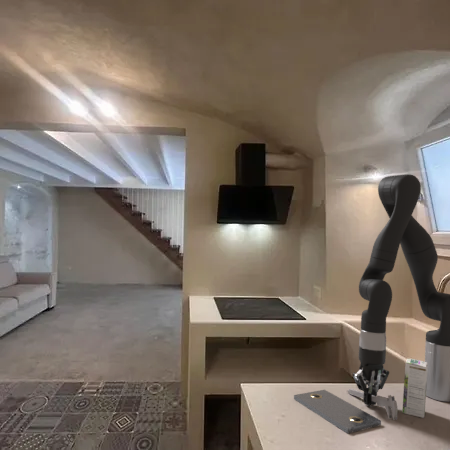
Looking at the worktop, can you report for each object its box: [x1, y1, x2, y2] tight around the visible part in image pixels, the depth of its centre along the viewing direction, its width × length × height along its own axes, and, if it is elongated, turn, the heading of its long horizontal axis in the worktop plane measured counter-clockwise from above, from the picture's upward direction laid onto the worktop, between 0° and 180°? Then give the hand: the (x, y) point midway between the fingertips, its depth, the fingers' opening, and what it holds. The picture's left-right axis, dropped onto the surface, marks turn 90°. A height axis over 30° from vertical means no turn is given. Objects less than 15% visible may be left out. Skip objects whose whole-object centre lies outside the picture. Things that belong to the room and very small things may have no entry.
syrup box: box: [402, 358, 428, 419], centre depth 114 cm, size 6×6×14 cm
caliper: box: [346, 388, 398, 421], centre depth 117 cm, size 20×1×6 cm, turn 21°
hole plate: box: [293, 389, 382, 434], centre depth 112 cm, size 12×22×1 cm, turn 27°
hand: (369, 404), depth 117 cm, fingers closed on caliper, 1 cm apart
